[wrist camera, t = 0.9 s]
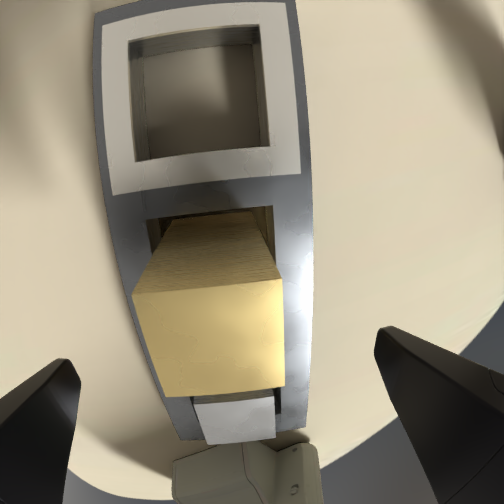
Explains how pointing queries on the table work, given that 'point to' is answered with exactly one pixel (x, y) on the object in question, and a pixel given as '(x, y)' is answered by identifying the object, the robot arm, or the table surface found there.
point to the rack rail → (211, 162)
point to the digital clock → (248, 475)
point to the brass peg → (213, 308)
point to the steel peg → (236, 416)
